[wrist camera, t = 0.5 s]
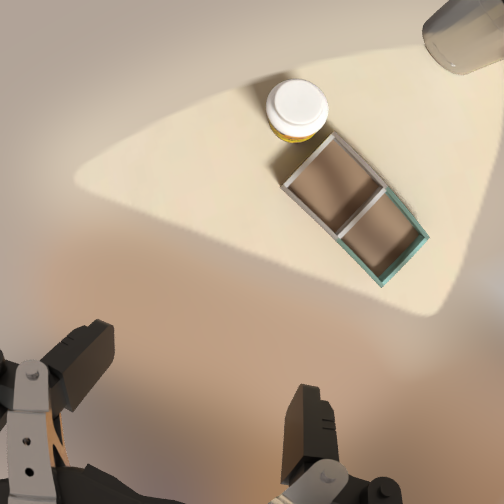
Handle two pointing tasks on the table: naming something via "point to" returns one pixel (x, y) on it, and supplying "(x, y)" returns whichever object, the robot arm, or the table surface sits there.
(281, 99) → the supplement bottle
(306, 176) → the divided sorting tray
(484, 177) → the table surface
